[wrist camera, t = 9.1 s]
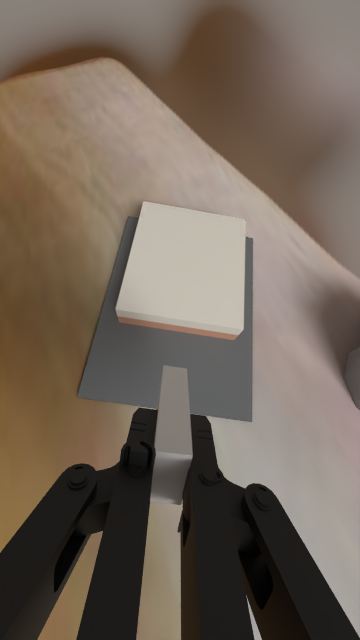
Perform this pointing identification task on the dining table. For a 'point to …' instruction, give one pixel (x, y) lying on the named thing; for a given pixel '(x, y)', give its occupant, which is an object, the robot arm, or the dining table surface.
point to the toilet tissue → (353, 375)
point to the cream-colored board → (185, 272)
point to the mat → (169, 355)
